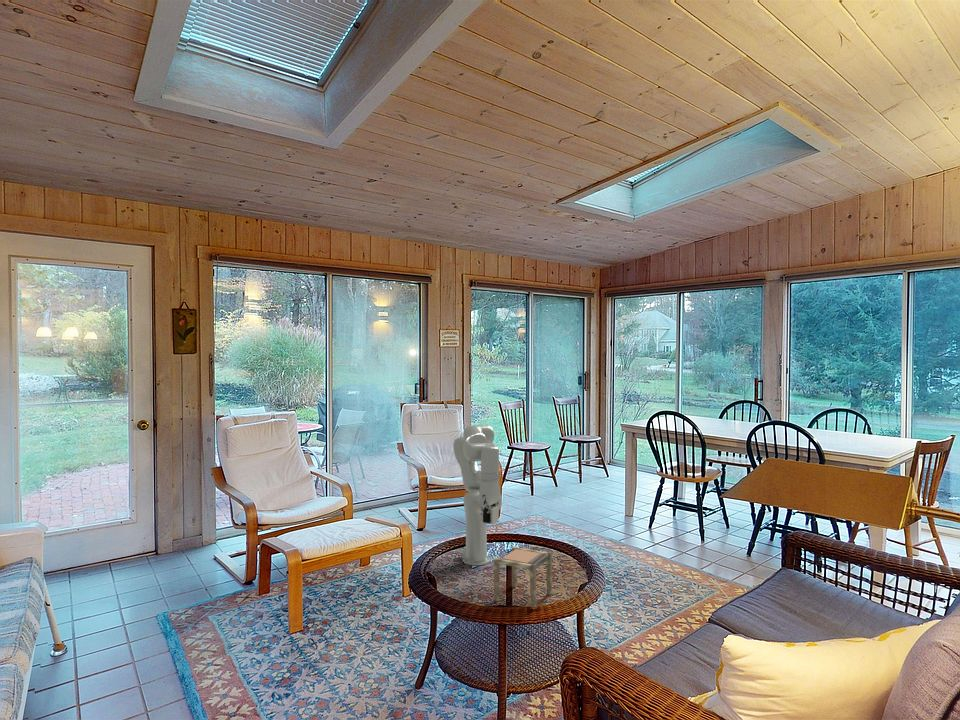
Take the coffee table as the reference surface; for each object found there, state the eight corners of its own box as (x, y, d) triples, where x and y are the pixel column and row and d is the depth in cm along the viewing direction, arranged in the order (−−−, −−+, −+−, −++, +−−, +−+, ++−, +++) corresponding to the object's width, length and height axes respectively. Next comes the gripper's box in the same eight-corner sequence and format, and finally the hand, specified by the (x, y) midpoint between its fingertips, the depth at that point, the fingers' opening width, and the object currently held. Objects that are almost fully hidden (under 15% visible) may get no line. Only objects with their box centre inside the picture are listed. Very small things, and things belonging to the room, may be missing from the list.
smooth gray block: (481, 522, 217) (481, 507, 217) (487, 519, 221) (487, 505, 222) (492, 524, 215) (492, 509, 215) (498, 521, 219) (498, 506, 219)
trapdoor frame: (493, 600, 199) (493, 558, 199) (513, 585, 213) (513, 546, 214) (534, 610, 191) (534, 566, 191) (552, 593, 205) (551, 553, 205)
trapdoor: (501, 560, 200) (501, 557, 200) (515, 551, 211) (515, 548, 211) (530, 566, 194) (530, 562, 194) (543, 556, 205) (543, 553, 205)
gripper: (491, 471, 228) (492, 514, 227) (471, 479, 213) (471, 524, 212) (507, 473, 224) (507, 517, 223) (487, 480, 209) (488, 527, 209)
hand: (490, 520), depth 218 cm, fingers closed on smooth gray block, 5 cm apart
